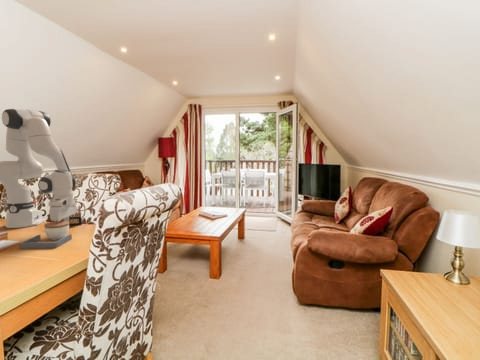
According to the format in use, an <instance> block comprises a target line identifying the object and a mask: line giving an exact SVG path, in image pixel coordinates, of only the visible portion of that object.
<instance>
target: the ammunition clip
mask: <svg viewBox="0 0 480 360" xmlns="http://www.w3.org/2000/svg"><path fill="white" fill-rule="evenodd" d="M76 208H77V212H76V214H73V215H71V216H69V220H68V222H69V227H73V226H82V225H83V220H82V212H81V205H78V206H76Z"/></svg>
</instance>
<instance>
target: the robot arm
mask: <svg viewBox="0 0 480 360" xmlns="http://www.w3.org/2000/svg"><path fill="white" fill-rule="evenodd" d="M1 121H2V124H3V125H4V126H5V127H6V134H5V135H6V136H5V137H6V138H5V142H6V143H5V146H6V147H5V150H6V151H7V153H9V154H11V155H12V156H15V157H17V160H2V161H0V184H1V185H2V186H3V187H4V189H5V191H6V196H7V203H6V209H7V211H6V212H5V215H6V216H5V223H4V225H3V226H4V227H5V228H6V229H19V228H26V227H32V226H33V227H34V226H39V225H41V224H42V223H44V222H46V221H47V220H48V219H47V218H46V217H43V215H42V211H41V210H39V209H38V208H36V207H35V206H34V205H37V202H36V201H35V200H32V194H31V193H32V192H31V189H30V188H29V187H28V186H27V185H24V184H21V183H20V182H19V180H27V179H28V180H30V179H35V178H39V177H41V176H42V175H43V174H44V166H43V165H42V163H41V162H40V161H38V160H37V159H35V157H34V156H33V153H32V151H33V152H35V153H36V154H38V155H41V156H42V157H43V156H44V157H46V158H48V159H50V160H52V161H53V163H54V164H55V167H56V169H55V170H53V171H52V173H50V174H48V175H44V176H42V177H41V178H40V179H39V181H38V183H37V188H38V190H39V191H40V192H41V193H43V194H45V195H46V194H53V198H51V199H50V201H48V207H49V218H50V220H51V222H56V221H68V220H69V216H71V215H73V214H74V215H75V214H76V212H78V207H77V203H76V201H75V199H74V192H73V191H74V189H75V187H76V185H77V181H76V178H75V177H74V175H73V173H72V172H71V169H70V166H69V164H68V162H67V160H66V158H65V155H64V152H63V151H62V149H61V148H60V147H59V146H57V144H56V143H55V141H54V138H53V135H52V134H53V133H52V131H51V129H50V126H51V123H52V122H51V117H50V115H49V114H48V113H47V112H45V111H40V110H39V111H38V110H34V109H33V110H32V109H15V108H8V109H5V110H4V111H3V112H2V114H1ZM76 207H77V208H76Z"/></svg>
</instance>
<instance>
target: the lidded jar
mask: <svg viewBox="0 0 480 360" xmlns="http://www.w3.org/2000/svg"><path fill="white" fill-rule="evenodd" d="M43 227H44V233H45V236H46V237H47V238H49V239H50V240H52V241H58V240H60V239H62V238H64V237H65V236H67V235H69V234H68V233H69V231H70V226H69V222H68V221H61V220H59V221H51V222H47V223H45V224H44V225H43Z"/></svg>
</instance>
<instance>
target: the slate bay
mask: <svg viewBox="0 0 480 360" xmlns="http://www.w3.org/2000/svg"><path fill="white" fill-rule="evenodd" d="M41 238H42V237H41V234H37V235H35V236H33V237H31V238H28V239H26V240H24V241H22V242H20V243H19V250H23V249H25V250H26V249H27V250H29V249H57V248H59V247H61V246H63V245H65V244H66V243H68V242H69V241H71V240H72V239H73V235H72V233H69V234H67V235H66V236H65V237H64V238H62V239H59V240H55V241H44V242H43V241H41V240H42V239H41Z"/></svg>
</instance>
